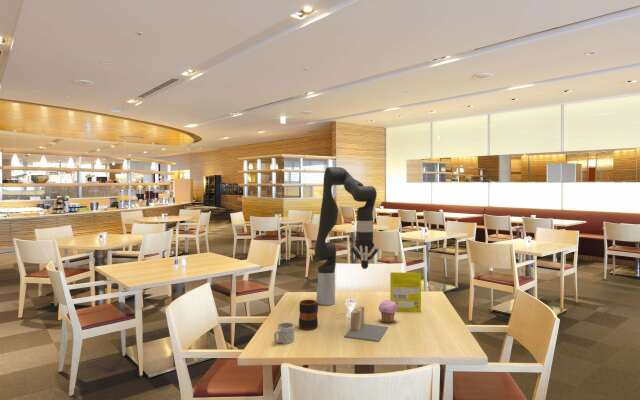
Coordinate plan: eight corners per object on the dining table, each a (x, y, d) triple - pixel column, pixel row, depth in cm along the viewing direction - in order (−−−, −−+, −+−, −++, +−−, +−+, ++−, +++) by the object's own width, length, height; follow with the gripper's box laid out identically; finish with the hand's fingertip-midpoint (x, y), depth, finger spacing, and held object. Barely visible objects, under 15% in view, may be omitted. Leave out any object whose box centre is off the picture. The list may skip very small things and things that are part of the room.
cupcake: (380, 317, 210) (380, 297, 209) (398, 319, 207) (398, 298, 207) (377, 323, 202) (377, 302, 201) (395, 325, 199) (395, 303, 198)
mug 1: (285, 336, 185) (285, 321, 185) (297, 340, 181) (297, 324, 180) (268, 343, 177) (268, 327, 177) (280, 347, 173) (280, 331, 173)
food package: (420, 311, 219) (420, 272, 218) (421, 312, 218) (421, 273, 217) (390, 310, 220) (390, 272, 220) (390, 311, 219) (390, 272, 218)
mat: (344, 337, 184) (344, 336, 184) (356, 324, 201) (356, 322, 201) (378, 341, 178) (378, 340, 178) (388, 327, 195) (388, 326, 195)
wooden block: (350, 312, 191) (357, 305, 200) (350, 329, 191) (357, 322, 201) (357, 312, 190) (364, 306, 199) (357, 330, 190) (364, 323, 199)
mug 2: (325, 324, 201) (325, 299, 201) (310, 331, 191) (310, 305, 190) (309, 320, 206) (309, 296, 205) (295, 328, 196) (294, 302, 195)
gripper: (348, 230, 193) (348, 269, 194) (377, 231, 188) (377, 271, 189) (353, 229, 200) (353, 266, 201) (381, 230, 195) (381, 268, 196)
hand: (364, 268), depth 195 cm, fingers closed
